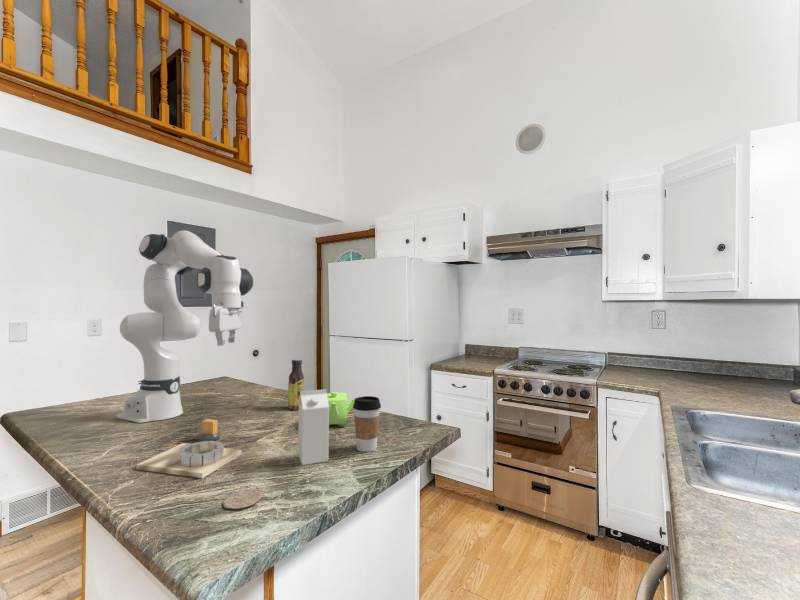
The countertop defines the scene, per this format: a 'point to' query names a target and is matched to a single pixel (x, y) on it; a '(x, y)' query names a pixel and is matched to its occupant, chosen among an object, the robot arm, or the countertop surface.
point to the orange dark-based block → (209, 431)
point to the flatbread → (242, 499)
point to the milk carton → (313, 427)
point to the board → (169, 465)
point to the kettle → (338, 408)
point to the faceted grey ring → (192, 459)
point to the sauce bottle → (295, 384)
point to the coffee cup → (366, 422)
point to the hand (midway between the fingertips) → (226, 343)
